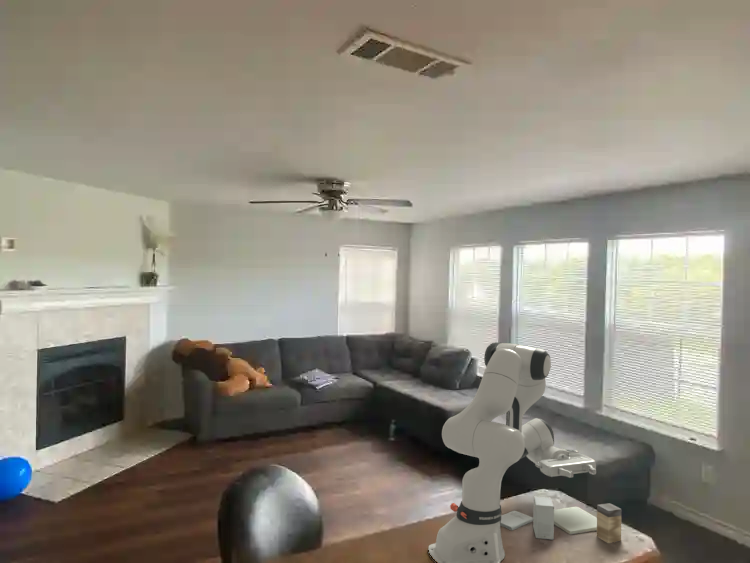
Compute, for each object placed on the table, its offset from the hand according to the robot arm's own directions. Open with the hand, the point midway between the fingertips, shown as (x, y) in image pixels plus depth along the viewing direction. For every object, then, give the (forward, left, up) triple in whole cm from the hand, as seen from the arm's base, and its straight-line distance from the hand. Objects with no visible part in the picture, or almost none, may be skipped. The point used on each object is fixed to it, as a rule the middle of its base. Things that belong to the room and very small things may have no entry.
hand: (583, 473), depth 182 cm
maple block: (0, -12, -16) cm, 21 cm away
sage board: (-2, +2, -16) cm, 17 cm away
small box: (-18, -3, -17) cm, 25 cm away
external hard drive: (-22, +8, -17) cm, 29 cm away
